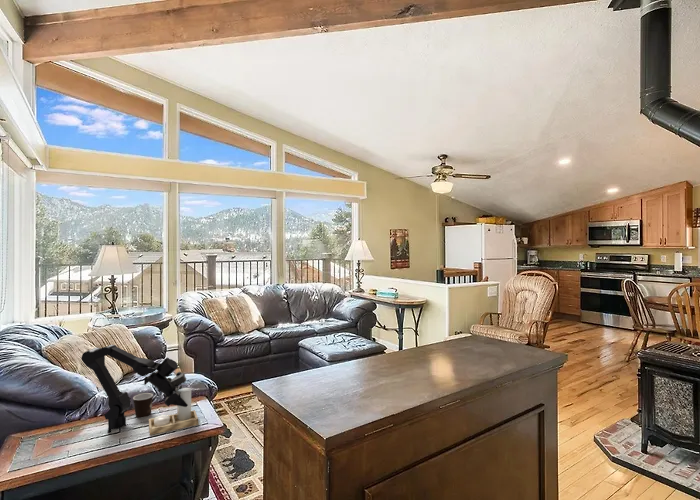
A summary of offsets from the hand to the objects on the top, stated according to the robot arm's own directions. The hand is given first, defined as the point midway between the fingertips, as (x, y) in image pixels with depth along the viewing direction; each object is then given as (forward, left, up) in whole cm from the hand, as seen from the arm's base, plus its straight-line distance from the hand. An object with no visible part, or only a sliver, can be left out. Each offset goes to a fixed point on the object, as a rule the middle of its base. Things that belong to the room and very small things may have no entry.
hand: (187, 403), depth 182 cm
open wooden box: (-6, 0, -10) cm, 12 cm away
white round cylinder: (-11, 0, -9) cm, 14 cm away
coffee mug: (-17, +20, -10) cm, 28 cm away
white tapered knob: (-1, 0, -7) cm, 7 cm away
